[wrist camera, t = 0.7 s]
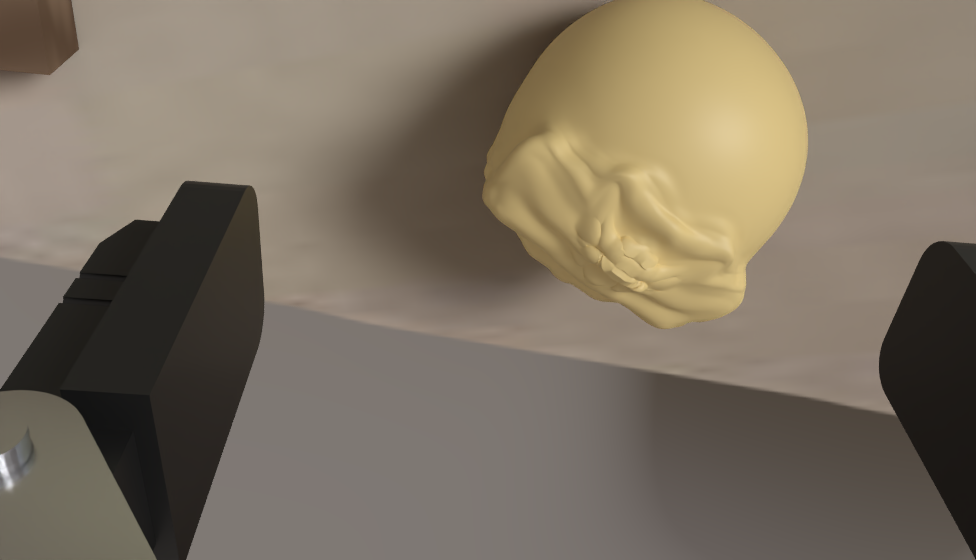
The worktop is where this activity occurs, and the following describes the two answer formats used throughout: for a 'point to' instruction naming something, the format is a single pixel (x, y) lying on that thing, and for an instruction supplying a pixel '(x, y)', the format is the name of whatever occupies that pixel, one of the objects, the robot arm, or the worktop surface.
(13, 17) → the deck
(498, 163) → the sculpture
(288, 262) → the worktop surface
